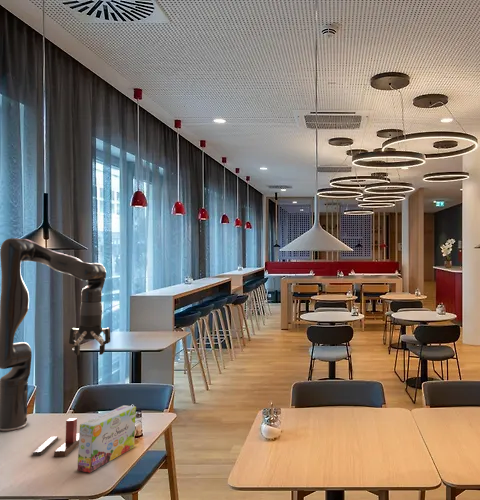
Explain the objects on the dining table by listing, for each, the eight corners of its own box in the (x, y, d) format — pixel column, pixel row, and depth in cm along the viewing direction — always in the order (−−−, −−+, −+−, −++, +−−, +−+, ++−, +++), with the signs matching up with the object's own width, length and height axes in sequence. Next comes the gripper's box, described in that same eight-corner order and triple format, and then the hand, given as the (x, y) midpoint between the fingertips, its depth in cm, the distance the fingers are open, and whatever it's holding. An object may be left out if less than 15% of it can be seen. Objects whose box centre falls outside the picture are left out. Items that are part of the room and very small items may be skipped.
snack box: (91, 473, 147) (93, 425, 147) (76, 471, 148) (78, 424, 148) (135, 447, 168) (136, 405, 168) (121, 445, 169) (123, 404, 169)
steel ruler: (32, 455, 159) (32, 452, 159) (50, 440, 172) (50, 436, 173) (40, 455, 159) (40, 451, 159) (58, 439, 173) (58, 436, 173)
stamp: (54, 457, 158) (55, 427, 158) (75, 438, 174) (76, 412, 174) (65, 456, 159) (66, 427, 159) (85, 438, 175) (86, 411, 175)
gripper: (67, 314, 178) (65, 356, 178) (107, 314, 181) (106, 356, 181) (74, 312, 185) (73, 352, 185) (113, 312, 188) (111, 352, 188)
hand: (89, 354), depth 183 cm, fingers open, 8 cm apart
